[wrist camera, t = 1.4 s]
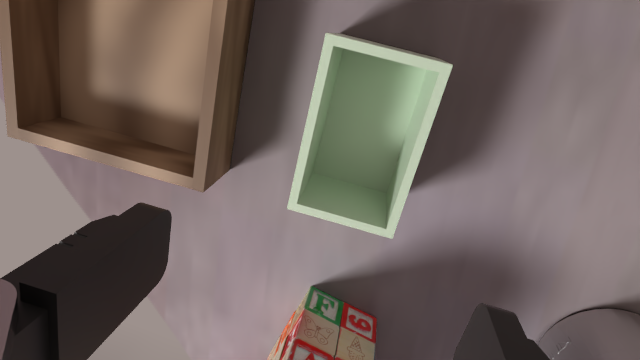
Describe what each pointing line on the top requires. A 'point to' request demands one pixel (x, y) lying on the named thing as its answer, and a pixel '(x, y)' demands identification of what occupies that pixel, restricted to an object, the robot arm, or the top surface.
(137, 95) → the big crate
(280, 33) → the top surface
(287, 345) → the stack of blocks
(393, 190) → the small crate
